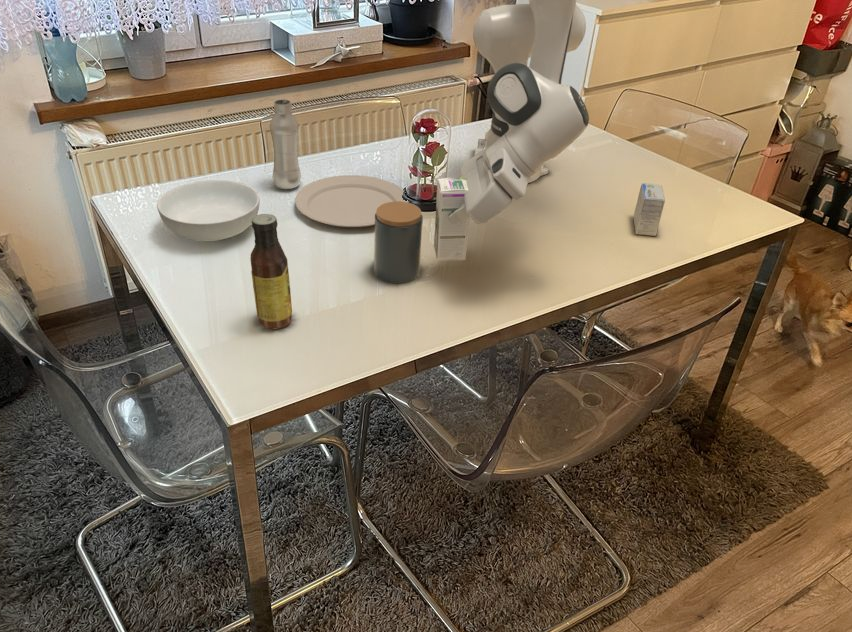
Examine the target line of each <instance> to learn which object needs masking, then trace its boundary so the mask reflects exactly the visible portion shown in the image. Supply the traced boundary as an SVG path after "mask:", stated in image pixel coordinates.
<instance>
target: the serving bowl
mask: <svg viewBox="0 0 852 632" xmlns="http://www.w3.org/2000/svg"><path fill="white" fill-rule="evenodd" d="M260 201H261V199H260V194H259V193H258V191H257V190H255V189H254V188H253V187H251V186H250V185H247V184H245V183H243V182H239V181H234V180H227V179H225V180H224V179H207V180H199V181H194V182H189V183H185V184H182V185H179V186H176V187H173V188H171V189H170V190H168V191H166V192H165V193H164V194H162V195H161V196H160V198H159V199H158V200H157V204H156V208H157V211H158V214H159V217H160V219H161V221H162V223H163V224H164V225H165V227H167V228H168V229H169V231H171V232H172V233H173V234H175V235H177V236H179V237H181V238H184V239H186V240H187V239H188V240H191V241H197V242H215V241H221V240H226V239H230V238H232V237H235V236H238V235H239V234H241V233H243V232H245V230H247V229H248V228H249V227H250V226H252V218H253V217H255V216H257V215H259V214H258V213H259V209H260V203H261V202H260Z"/></svg>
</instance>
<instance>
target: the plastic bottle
mask: <svg viewBox="0 0 852 632" xmlns="http://www.w3.org/2000/svg"><path fill="white" fill-rule="evenodd" d="M273 106H274V108H273V111H274V112H275V113H274V115H273V116H272V118H271V119H270V122H269V132H270V136H271V141H272V148H273V170H272V180H273V184H274V185H275V187H276V188H278V189H282V190H291V189H295V188H297V187H299V185H300V183H301V179H302V174H301V173H302V172H301V168H300V166H299V165H300V163H299V157H298V138H299V122H298V119H297V118H296V117H295V116H294V114H293V113H292V110H293V109H292V102H291V100H289V99H276V100H275V101H274V103H273Z"/></svg>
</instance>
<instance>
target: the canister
mask: <svg viewBox="0 0 852 632" xmlns="http://www.w3.org/2000/svg"><path fill="white" fill-rule="evenodd" d="M423 219H424V216H423V214H422V210H421V208H420V207H419V206H418V205H416V204H414V203H411V202H409V203H407V202H399V201H396V202H388V203H385V204H382V205H380V206H379V207H378V208H377V211H376V214H375V225H374V237H373V238H374V239H373V240H374V242H373V245H374V246H373V273H374V275H375V277H377V278H378V280H381V281H382V282H385V283H391V284H405V283H410V282H412V281H414V280H416V279H418V277H419V275H420V271H421V257H422V239H423V238H422V236H423V221H424V220H423Z"/></svg>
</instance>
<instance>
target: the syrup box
mask: <svg viewBox="0 0 852 632" xmlns="http://www.w3.org/2000/svg"><path fill="white" fill-rule="evenodd" d="M467 191H468V186H467V181H466V178H461V177H444V178H437V184H436V201H435V202H436V203H435V219H434V221H435V222H434V239H433V240H434V241H433V248H434V252H435V257H436V260H437V261H465V260H466V258H467V257H466V256H467V246H468V234H469V223H470V222H469V221H470V217H468V218H465V219H462V220H460V221H458V222H457V223H456V224H451V223H450V222H449V221H448V214H449V213H451V212H452V211H453V210H455V211H456V210H457V209H459V208H461V206H462V205H463V204H464V203H465V201H464V195H465V193H466V192H467Z"/></svg>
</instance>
